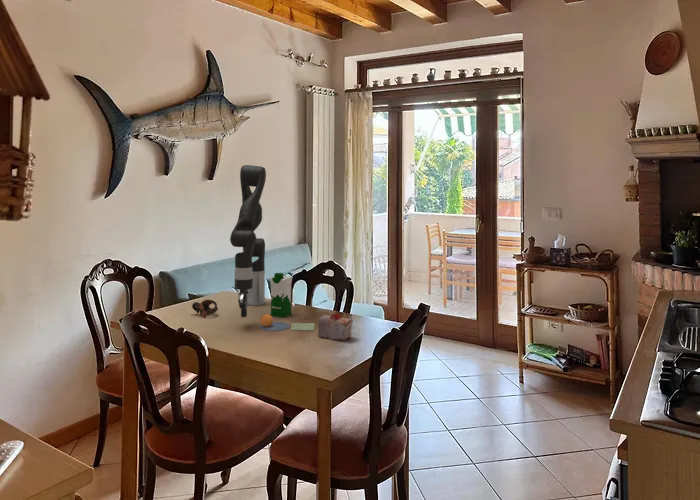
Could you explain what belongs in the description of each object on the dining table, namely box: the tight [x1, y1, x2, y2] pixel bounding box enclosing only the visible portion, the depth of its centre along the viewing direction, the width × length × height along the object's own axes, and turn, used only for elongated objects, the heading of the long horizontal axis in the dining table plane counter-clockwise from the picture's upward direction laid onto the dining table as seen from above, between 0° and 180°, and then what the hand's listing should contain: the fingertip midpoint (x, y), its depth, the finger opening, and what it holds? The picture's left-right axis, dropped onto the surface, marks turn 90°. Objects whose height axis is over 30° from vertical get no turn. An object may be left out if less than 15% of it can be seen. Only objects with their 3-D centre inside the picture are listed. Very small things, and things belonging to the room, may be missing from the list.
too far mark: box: [289, 322, 316, 331], centre depth 222 cm, size 10×10×1 cm
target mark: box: [258, 321, 291, 332], centre depth 221 cm, size 13×13×1 cm
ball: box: [259, 313, 274, 327], centre depth 220 cm, size 6×6×6 cm
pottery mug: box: [191, 299, 219, 319], centre depth 236 cm, size 12×10×8 cm
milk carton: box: [269, 272, 293, 319], centre depth 239 cm, size 9×9×20 cm
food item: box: [317, 313, 353, 341], centre depth 207 cm, size 14×8×10 cm, turn 68°
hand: (243, 316), depth 220 cm, fingers closed
